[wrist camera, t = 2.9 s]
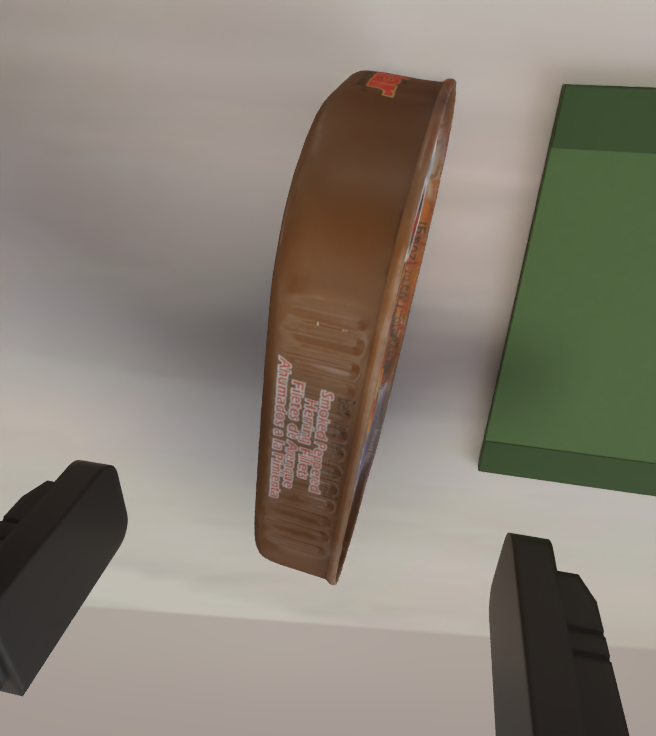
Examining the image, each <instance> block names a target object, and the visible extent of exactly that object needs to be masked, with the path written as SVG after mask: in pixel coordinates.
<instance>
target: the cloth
mask: <svg viewBox="0 0 656 736" xmlns="http://www.w3.org/2000/svg"><path fill="white" fill-rule="evenodd" d="M478 470H479V471H482V472H489V473H496V474H503V475H510V476H517V477H524V478H531V479H538V480H545V481H552V482H559V483H566V484H573V485H580V486H587V487H594V488H601V489H608V490H615V491H622V492H629V493H636V494H644V495H651V496H656V88H648V87H623V86H597V85H572V84H564V85H563V88H562V92H561V97H560V101H559V106H558V110H557V115H556V119H555V124H554V128H553V133H552V137H551V142H550V146H549V151H548V155H547V160H546V164H545V168H544V173H543V177H542V182H541V186H540V191H539V195H538V200H537V204H536V209H535V213H534V218H533V222H532V227H531V231H530V236H529V240H528V245H527V249H526V254H525V258H524V262H523V267H522V271H521V276H520V280H519V285H518V289H517V294H516V298H515V303H514V307H513V312H512V316H511V321H510V325H509V330H508V334H507V339H506V343H505V348H504V352H503V356H502V361H501V365H500V370H499V374H498V379H497V383H496V388H495V392H494V397H493V401H492V406H491V410H490V415H489V419H488V424H487V428H486V433H485V437H484V442H483V446H482V450H481V455H480V459H479V464H478Z"/></svg>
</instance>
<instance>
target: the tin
mask: <svg viewBox="0 0 656 736" xmlns="http://www.w3.org/2000/svg"><path fill="white" fill-rule="evenodd" d="M455 96H456V81H455V80H454V79H447V80H445V81H443V82H437V81H428V80H421V79H416V78H410V77H405V76H400V75H395V74H389V73H384V72H375V71H359V72H356V73H354V74H352V75H351V76H350V77H349V78H348V79H346V80H345V81H344V82H343V83H342V84H341V85H340V86H339V87H338V88H337V89H336V90H335V91H334V92H333V93H332V94H331V95H330V96H329V97H328V98H327V99H326V100H325V101H324V103H323V104H322V106H321V108H320V109H319V111H318V113H317V114H316V116H315V119H314V121H313V123H312V125H311V128H310V130H309V132H308V135H307V137H306V140H305V143H304V145H303V148H302V151H301V154H300V157H299V160H298V163H297V166H296V169H295V172H294V175H293V179H292V183H291V187H290V190H289V194H288V198H287V202H286V206H285V210H284V215H283V220H282V225H281V230H280V236H279V241H278V247H277V253H276V258H275V265H274V271H273V278H272V287H271V296H270V307H269V320H268V332H267V343H266V356H265V368H264V384H263V395H262V408H261V424H260V439H259V453H258V468H257V483H256V503H255V522H254V524H255V541H256V545H257V548H258V550H259V553H260V554H261V555H262V556H263V557H265V558H267V559H268V560H270V561H273V562H275V563H278V564H280V565H283V566H286V567H290V568H293V569H296V570H299V571H302V572H305V573H308V574H311V575H315V576H318V577H321V578H324V579H326V580H327V581H328V582H329V584H331V585H336V584H337V582H338V579H339V577H340V574H341V571H342V567H343V564H344V561H345V558H346V554H347V551H348V547H349V545H350V541H351V538H352V534H353V531H354V527H355V524H356V520H357V516H358V513H359V509H360V505H361V501H362V498H363V494H364V490H365V486H366V482H367V479H368V476H369V472H370V469H371V466H372V462H373V459H374V456H375V452H376V449H377V446H378V442H379V438H380V434H381V429H382V425H383V421H384V417H385V413H386V408H387V402H388V399H389V396H390V392H391V388H392V384H393V380H394V376H395V372H396V367H397V363H398V359H399V355H400V350H401V346H402V341H403V337H404V333H405V329H406V325H407V321H408V317H409V312H410V307H411V303H412V300H413V296H414V291H415V287H416V283H417V279H418V275H419V270H420V266H421V262H422V258H423V254H424V250H425V245H426V241H427V237H428V232H429V228H430V223H431V219H432V215H433V211H434V206H435V202H436V198H437V193H438V188H439V183H440V177H441V174H442V170H443V165H444V161H445V156H446V151H447V146H448V141H449V135H450V130H451V123H452V118H453V112H454V104H455Z"/></svg>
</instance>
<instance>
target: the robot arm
mask: <svg viewBox="0 0 656 736" xmlns="http://www.w3.org/2000/svg"><path fill="white" fill-rule="evenodd" d="M127 523H128V517H127V511H126V507H125V503H124V499H123V494H122V490H121V486H120V482H119V477H118V473H117V470H116V468H115V467H114V466H112V465H107V464H101V463H95V462H89V461H83V460H76V461H74V462H73V463H71V464H70V465H69V466H68V467H67V468H66V469H65V471H64V472H63V473H62V474H61V475H60V476H59V477H58V479H57V480H56V481H55V482H53V481H46V482H44V483H43V484H41V485H40V486H38V487H36V488H35V489H33V490H32V491H30V492H29V493H27V494H25V495H24V496H22V497H21V498H20V500H19V501H18V502H17V503H16V504H15V505H14V506H13V507H12V508H11V509H10V510H9V511H8V513H7V514H6V515H5V516H4V519H3V521H0V691H3V692H7V693H11V694H15V695H20V696H23V695H24V694H25V692H26V691H27V689H28V687H29V686H30V684H31V683H32V681H33V679H34V678H35V676H36V675H37V673H38V672H39V670H40V669H41V667H42V666H43V664H44V663H45V661H46V660H47V658H48V657H49V655H50V653H51V652H52V650H53V649H54V647H55V646H56V644H57V643H58V641H59V640H60V638H61V636H62V635H63V633H64V632H65V630H66V628H67V627H68V626H69V624H70V623H71V620H72V619H73V618H74V616H75V615H76V613H77V612H78V610H79V609H80V607H81V606H82V604H83V602H84V601H85V599H86V598H87V596H88V595H89V593H90V592H91V590H92V589H93V587H94V585H95V584H96V582H97V581H98V579H99V578H100V576H101V575H102V573H103V572H104V570H105V569H106V567H107V565H108V564H109V562H110V561H111V559H112V558H113V556H114V555H115V553H116V552H117V550H118V548H119V547H120V545H121V543H122V541H123V539H124V536H125V533H126V529H127ZM489 623H490V640H491V658H492V675H493V693H494V712H495V729H496V736H629V732H628V728H627V724H626V720H625V716H624V712H623V708H622V703H621V699H620V695H619V691H618V688H617V683H616V679H615V675H614V671H613V667H612V663H611V662H610V660H609V658H610V655H609V650H608V646H607V642H606V638H605V637H604V635H603V633H604V630H603V626H602V622H601V617H600V613H599V609H598V605H597V602H596V600H595V599H594V597H593V596H592V594H591V593H590V591H589V590H588V588H587V587H586V585H585V584H584V582H583V581H582V579H581V578H580V576H579V575H578V574H573V573H567V572H561V571H557V567H556V562H555V557H554V551H553V547H552V543H551V541H550V540H549V539H543V538H537V537H531V536H525V535H519V534H513V533H508V534H507V535H506V537H505V540H504V544H503V547H502V551H501V554H500V557H499V561H498V564H497V568H496V571H495V575H494V578H493V582H492V586H491V592H490V602H489Z"/></svg>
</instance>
